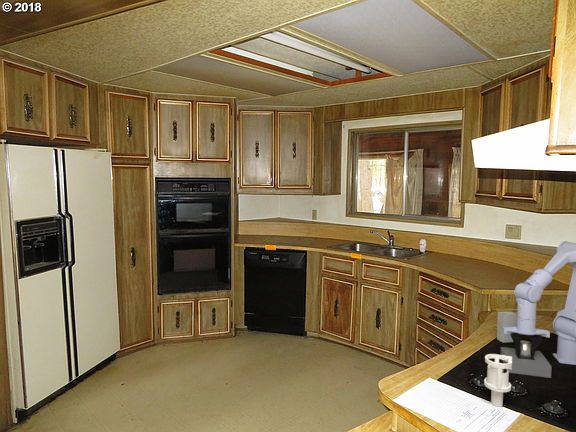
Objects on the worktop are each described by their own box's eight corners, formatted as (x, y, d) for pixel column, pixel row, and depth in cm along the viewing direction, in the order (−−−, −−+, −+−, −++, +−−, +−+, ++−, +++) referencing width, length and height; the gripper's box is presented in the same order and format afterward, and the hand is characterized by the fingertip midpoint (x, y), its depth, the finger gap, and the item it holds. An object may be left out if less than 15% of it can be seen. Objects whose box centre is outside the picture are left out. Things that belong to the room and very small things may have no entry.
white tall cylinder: (512, 412, 113) (514, 362, 112) (484, 407, 116) (486, 358, 115) (508, 400, 120) (510, 352, 119) (482, 395, 122) (484, 348, 121)
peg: (528, 359, 143) (529, 341, 143) (532, 364, 139) (533, 345, 139) (516, 358, 144) (517, 339, 144) (519, 363, 141) (520, 344, 140)
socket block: (539, 361, 146) (540, 351, 146) (550, 377, 134) (551, 366, 133) (500, 357, 150) (500, 346, 150) (507, 372, 138) (508, 361, 137)
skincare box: (509, 338, 168) (510, 310, 168) (516, 342, 164) (517, 314, 163) (496, 339, 168) (497, 311, 167) (502, 343, 163) (503, 314, 163)
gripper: (545, 315, 143) (543, 352, 144) (500, 312, 146) (499, 348, 147) (552, 322, 136) (551, 360, 137) (506, 318, 140) (504, 355, 141)
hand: (524, 354), depth 142 cm, fingers closed on peg, 4 cm apart
